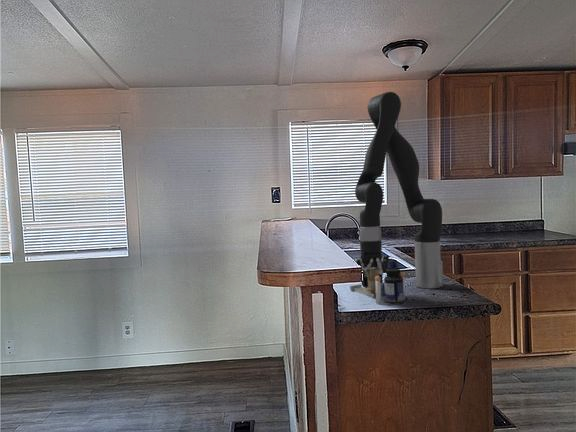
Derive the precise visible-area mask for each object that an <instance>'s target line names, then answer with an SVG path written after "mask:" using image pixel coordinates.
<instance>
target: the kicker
mask: <svg viewBox="0 0 576 432" xmlns="http://www.w3.org/2000/svg"><path fill="white" fill-rule="evenodd" d="M376 276H379V269H375V268H374V267H372V268H370V271H369V272H368V275H367V277H368V287H367V288H365V287H363V288H364V291H365V292H368V293H376V281H375V277H376ZM383 297H384V298H385V287H384V282H383V283H381V298H383Z"/></svg>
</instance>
